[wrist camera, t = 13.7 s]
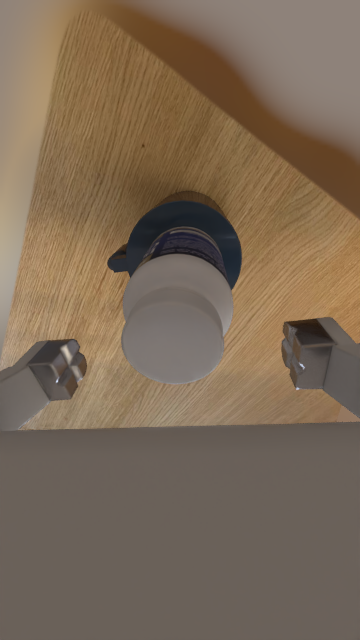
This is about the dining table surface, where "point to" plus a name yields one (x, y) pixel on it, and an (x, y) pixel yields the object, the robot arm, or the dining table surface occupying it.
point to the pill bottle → (177, 308)
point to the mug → (181, 213)
